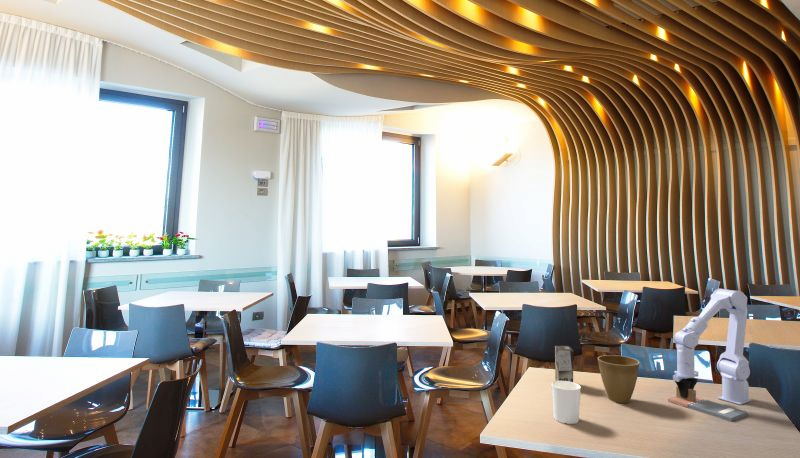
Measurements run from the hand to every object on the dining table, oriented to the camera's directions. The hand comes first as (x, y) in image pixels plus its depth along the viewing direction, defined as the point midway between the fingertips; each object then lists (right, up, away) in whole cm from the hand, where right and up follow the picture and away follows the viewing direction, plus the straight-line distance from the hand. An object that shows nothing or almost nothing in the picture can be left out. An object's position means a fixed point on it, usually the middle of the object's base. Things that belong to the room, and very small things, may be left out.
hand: (686, 397), depth 172 cm
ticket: (+5, -2, -10) cm, 11 cm away
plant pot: (-26, -2, +1) cm, 26 cm away
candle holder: (-54, -1, -18) cm, 57 cm away
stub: (0, -2, 0) cm, 2 cm away
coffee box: (-41, -2, +19) cm, 45 cm away
